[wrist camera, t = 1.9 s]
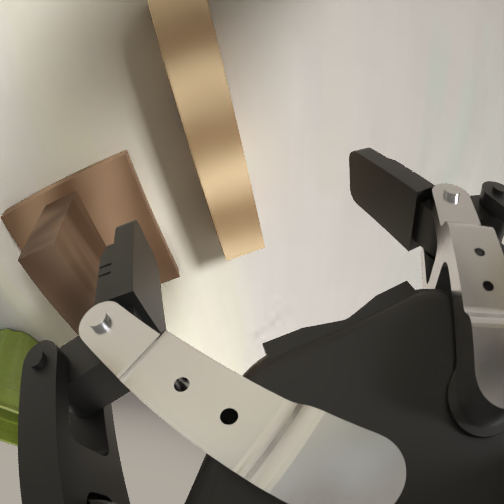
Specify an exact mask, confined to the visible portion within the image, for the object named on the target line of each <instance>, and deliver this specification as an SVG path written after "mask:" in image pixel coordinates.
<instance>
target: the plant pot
mask: <svg viewBox="0 0 504 504" xmlns="http://www.w3.org/2000/svg"><path fill="white" fill-rule="evenodd" d="M37 343H38V342H37V341H36V340H35V339H34V338H32V337H31V336H29V335H28V334H26V333H24V332H21V331H12V330H10V329H3V330H0V441H2V442H5V443H8V444H12V445H15V446H18V414H19V397H20V385H21V375H22V366H23V362H24V359H25V357H26V355H27V353H28V352H29V351H30V349H31V348H32V347H33V346H34V345H36V344H37Z"/></svg>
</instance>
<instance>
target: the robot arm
mask: <svg viewBox="0 0 504 504" xmlns="http://www.w3.org/2000/svg"><path fill="white" fill-rule="evenodd" d="M349 166H350V191H351V195H352V197H353V199H354V201H355V202H356V203H357V204H358V205H359V206H360V207H361V208H362V209H364V210H365V211H366V212H367V213H368V214H369V215H370V216H371V217H373V218H374V219H375V220H376V221H377V222H378V223H379V224H380V225H381V226H382V227H383V228H385V229H386V230H387V231H388V232H389V233H390V234H391V235H392V236H393V237H394V238H395V239H396V240H397V241H398V242H399V243H401V244H402V245H403V246H404V247H405V248H406V249H407V250H408V251H410V250H412V249H414V248H416V247H419V246H421V247H422V252H421V264H422V279H423V289H419V290H415V289H414V288H413V287H412V286H411V285H410V284H409V283H408V282H407V281H405V282H403V283H401V284H399V285H397V286H395V287H393V288H391V289H389V290H387V291H385V292H383V293H381V294H379V295H377V296H375V297H374V298H373V299H372V300H371V301H369V302H368V303H367V304H366V305H364V306H363V307H362V308H361V309H360V310H358V311H357V312H356V313H355V314H353V315H352V316H351V317H349V318H348V319H346V320H342V321H337V322H332V323H327V324H322V325H316V326H311V327H305V328H301V329H299V330H296V331H294V332H291V333H289V334H286V335H283V336H281V337H278V338H276V339H273V340H270V341H268V342H265V343H262V344H263V347H264V350H265V354H266V356H264V357H263V358H261V359H260V360H258V361H257V362H256V363H255V364H254V365H252V366H251V367H250V368H249V369H248V370H247V371H246V372H245V373H244V375H243V376H241V375H239V374H238V373H236V372H234V371H232V370H231V369H229V368H227V367H225V366H224V365H222V364H220V363H218V362H217V361H215V360H213V359H212V358H210V357H208V356H207V355H205V354H203V353H202V352H200V351H199V350H197V349H195V348H194V347H192V346H190V345H189V344H187V343H186V342H184V341H183V340H181V339H179V338H178V337H176V336H175V335H173V334H172V333H170V332H168V331H166V325H165V318H164V310H163V302H162V294H161V285H160V276H159V268H158V265H157V261H156V259H155V256H154V254H153V252H152V250H151V248H150V246H149V244H148V242H147V240H146V237H145V235H144V233H143V231H142V229H141V227H140V225H139V223H138V222H137V220H134V221H131V222H128V223H126V224H123V225H121V226H118V227H116V229H115V237H114V243H113V244H111V245H108V246H107V247H106V249H105V250H104V252H103V254H102V256H101V258H100V264H99V271H98V279H97V287H96V296H95V305H94V307H92V308H91V309H90V310H89V311H88V312H87V313H86V314H85V315H84V317H83V318H82V320H81V322H80V325H79V336H77V337H76V338H74V339H73V340H71V341H70V342H68V343H67V344H65V345H64V346H62V347H61V348H58V347H57V346H56V345H55V344H54V343H53V342H51V341H48V340H45V341H41V342H39V343H37V344H36V345H34V346H33V347H32V348H31V349H30V351H29V352H28V353H27V355H26V357H25V359H24V362H23V366H22V375H21V385H20V397H19V414H18V460H19V477H20V489H21V497H22V504H130V502H129V497H128V493H127V489H126V485H125V481H124V476H123V472H122V467H121V462H120V457H119V452H118V446H117V441H116V434H115V428H114V422H113V414H112V407H111V403H112V402H113V401H115V400H117V399H118V398H120V397H121V396H123V395H124V394H126V393H128V392H129V391H131V392H133V393H134V394H135V395H136V396H137V397H138V398H139V399H140V400H141V401H142V402H143V403H145V404H146V405H147V406H148V407H149V408H151V409H152V410H153V411H154V412H155V413H156V414H157V415H158V416H160V417H161V418H162V419H163V420H164V421H166V422H167V423H168V424H169V425H170V426H172V427H173V428H174V429H176V430H177V431H178V432H179V433H181V434H182V435H183V436H184V437H186V438H187V439H188V440H190V441H191V442H192V443H194V444H195V445H196V446H198V447H199V448H200V449H202V450H203V451H204V452H206V456H205V458H204V461H203V463H202V465H201V468H200V470H199V472H198V474H197V477H196V479H195V481H194V484H193V486H192V488H191V490H190V493H189V495H188V497H187V500H186V502H185V504H504V245H503V244H502V243H501V242H502V239H503V236H504V185H502V184H500V183H497V182H491V181H488V182H485V183H483V185H482V189H481V194H480V195H475V196H469V194H468V193H467V192H466V191H465V190H464V189H462V188H460V187H458V186H455V185H452V184H438V185H436V186H435V185H433V184H432V183H430V182H429V181H427V180H426V179H424V178H423V177H421V176H420V175H418V174H416V173H415V172H412V170H410V169H408V168H407V167H406V168H405V166H404V165H402V164H400V163H399V162H397V161H395V160H392V159H389V158H387V157H385V156H383V155H382V154H380V153H378V152H376V151H375V150H373V149H371V148H365V149H361V150H357V151H353V152H351V153H350V156H349ZM69 421H70V424H69Z"/></svg>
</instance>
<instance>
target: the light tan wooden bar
mask: <svg viewBox="0 0 504 504" xmlns="http://www.w3.org/2000/svg"><path fill="white" fill-rule="evenodd" d="M147 2H148V7H149V10H150V14H151V18H152V22H153V25H154V29H155V33H156V36H157V40H158V43H159V47H160V51H161V54H162V58H163V61H164V65H165V68H166V72H167V75H168V79H169V82H170V86H171V89H172V92H173V96H174V99H175V103H176V106H177V109H178V113H179V116H180V119H181V123H182V126H183V129H184V132H185V136H186V139H187V142H188V145H189V149H190V152H191V155H192V158H193V162H194V165H195V168H196V171H197V174H198V177H199V181H200V184H201V187H202V190H203V193H204V196H205V199H206V202H207V205H208V209H209V212H210V215H211V218H212V221H213V224H214V227H215V230H216V233H217V236H218V239H219V241H220V244H221V247H222V249H223V252H224V255H225V258H226V260H227V261H228V260H231V259H233V258H236V257H239V256H242V255H245V254H248V253H251V252H253V251H256V250H259V249H262V248H265V246H264V241H263V236H262V232H261V227H260V223H259V218H258V214H257V209H256V205H255V200H254V196H253V192H252V187H251V183H250V178H249V174H248V169H247V165H246V161H245V156H244V152H243V148H242V143H241V139H240V135H239V130H238V126H237V122H236V118H235V113H234V109H233V105H232V101H231V96H230V92H229V88H228V84H227V80H226V75H225V71H224V67H223V63H222V59H221V55H220V51H219V46H218V42H217V38H216V34H215V30H214V26H213V22H212V18H211V14H210V10H209V6H208V2H207V0H147Z"/></svg>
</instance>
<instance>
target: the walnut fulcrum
mask: <svg viewBox="0 0 504 504" xmlns="http://www.w3.org/2000/svg"><path fill="white" fill-rule="evenodd" d="M1 219H2V221H3V222H4V224H5V226H6V227H7V229H8V231H9V232H10V234H11V235H12V237H13V239H14V240H15V242H16V243H17V245H18V246H19V248H20V249H21V251H22V253H21V255H20V257H19V259H18V261H19V262H20V264H21V265H22V267H23V268H24V269H25V271H26V272H27V273H28V275H29V276H30V277H31V279H32V280H33V281H34V283H35V284H36V285H37V287H38V288H39V289H40V290H41V292H42V293H43V294H44V296H45V297H46V298H47V299H48V300H49V302H50V303H51V304H52V305H53V307H54V308H55V309H56V310H57V311H58V312H59V314H60V315H61V316H62V317H63V318H64V319H65V321H66V322H67V323H68V324H69V325H70V326H71V327H72V328H73V330H74V331H75V332H76V333H77V334H78V335H79V325H80V322H81V320H82V318H83V317H84V315H85V314H86V313H87V312H88V311H89V310H90V309H91V308H92V307H94V305H95V296H96V287H97V279H98V271H99V264H100V258H101V256H102V254H103V252H104V250H105V249H106V247H107V246H108V245H111V244H113V243H114V237H115V229H116V227H118V226H121V225H123V224H126V223H128V222H131V221H134V220H137V222H138V223H139V225H140V227H141V229H142V231H143V233H144V235H145V237H146V240H147V242H148V244H149V246H150V248H151V250H152V252H153V254H154V256H155V259H156V261H157V265H158V268H159V276H160V284H161V283H164V282H166V281H169V280H172V279H175V278H178V277H180V276H179V270H178V267H177V265H176V263H175V261H174V258H173V256H172V254H171V252H170V250H169V248H168V246H167V243H166V241H165V239H164V237H163V235H162V233H161V230H160V228H159V226H158V224H157V221H156V219H155V217H154V215H153V212H152V210H151V208H150V205H149V203H148V201H147V198H146V196H145V194H144V191H143V189H142V187H141V184H140V182H139V179H138V177H137V174H136V172H135V170H134V167H133V165H132V162H131V160H130V157H129V154H128V152H127V150H125V151H123V152H121V153H118V154H116V155H113V156H111V157H109V158H106V159H104V160H102V161H100V162H97V163H95V164H93V165H91V166H89V167H86V168H84V169H82V170H80V171H78V172H76V173H74V174H72V175H70V176H68V177H66V178H64V179H62V180H60V181H58V182H56V183H54V184H52V185H50V186H48V187H46V188H44V189H42V190H40V191H39V192H37V193H35V194H33V195H31V196H29V197H28V198H26V199H24V200H22V201H21V202H19V203H17V204H16V205H14V206H12V207H10V208H9V209H7V210H6V211H5V212H4V213H3V215H2V216H1Z"/></svg>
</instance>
